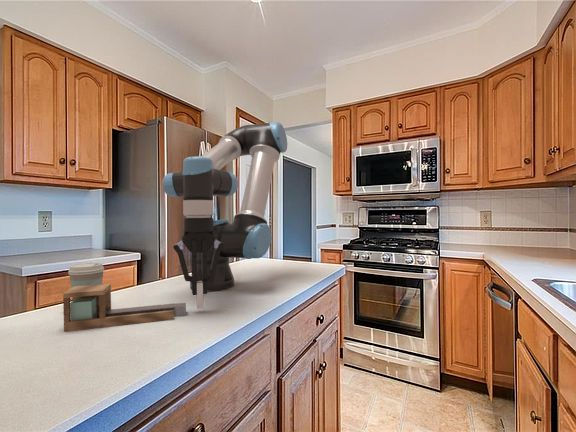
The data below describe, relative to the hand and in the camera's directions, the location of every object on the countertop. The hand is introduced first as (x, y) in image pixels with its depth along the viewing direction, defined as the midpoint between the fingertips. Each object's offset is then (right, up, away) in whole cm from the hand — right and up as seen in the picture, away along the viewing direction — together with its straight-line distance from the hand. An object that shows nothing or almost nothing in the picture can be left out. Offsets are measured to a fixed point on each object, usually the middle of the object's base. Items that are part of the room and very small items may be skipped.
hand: (199, 306), depth 82 cm
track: (-17, -2, -6) cm, 18 cm away
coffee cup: (-33, -2, +5) cm, 33 cm away
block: (-25, -2, -8) cm, 26 cm away
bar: (-13, -2, -4) cm, 13 cm away
